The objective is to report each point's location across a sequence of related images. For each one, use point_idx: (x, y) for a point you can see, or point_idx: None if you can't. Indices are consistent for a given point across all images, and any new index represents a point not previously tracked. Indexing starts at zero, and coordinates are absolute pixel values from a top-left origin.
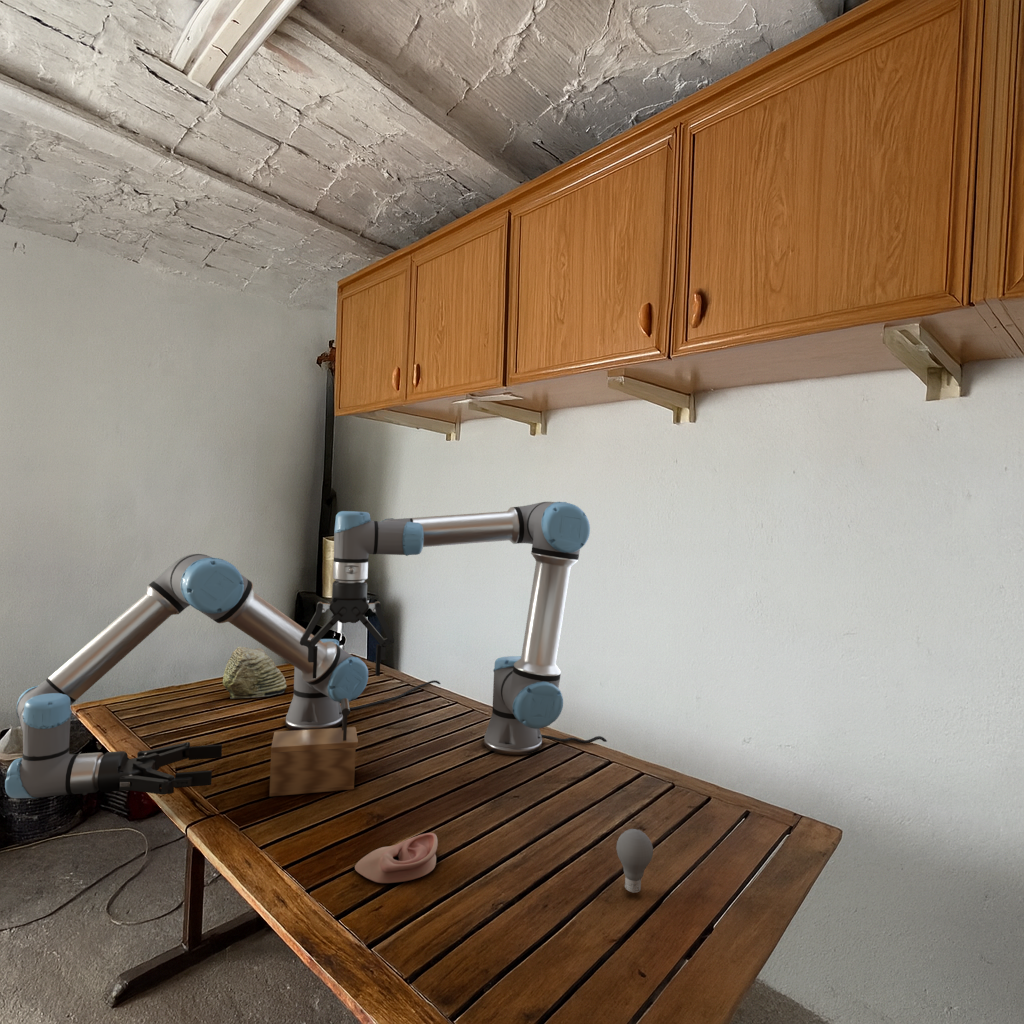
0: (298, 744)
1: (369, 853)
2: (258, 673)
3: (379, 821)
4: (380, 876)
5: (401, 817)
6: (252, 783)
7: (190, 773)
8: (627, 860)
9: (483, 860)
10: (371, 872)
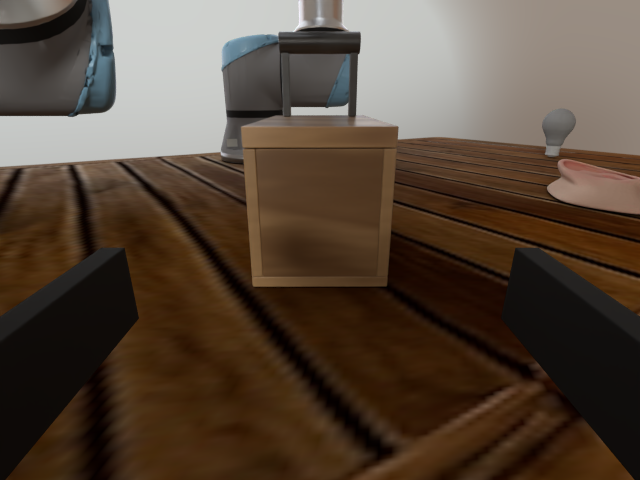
0: (374, 121)
1: (602, 201)
2: None
3: (478, 204)
4: None
5: (459, 195)
6: (273, 321)
7: (628, 309)
8: (573, 127)
9: (543, 177)
10: None
